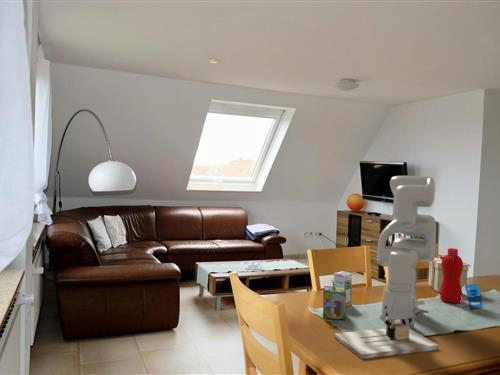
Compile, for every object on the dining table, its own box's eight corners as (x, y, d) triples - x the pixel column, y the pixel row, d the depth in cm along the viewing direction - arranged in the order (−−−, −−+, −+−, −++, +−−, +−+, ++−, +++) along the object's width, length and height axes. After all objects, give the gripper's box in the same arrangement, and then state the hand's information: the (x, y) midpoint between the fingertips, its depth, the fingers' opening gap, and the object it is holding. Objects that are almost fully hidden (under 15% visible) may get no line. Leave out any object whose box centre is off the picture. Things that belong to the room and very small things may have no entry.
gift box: (474, 294, 215) (476, 260, 214) (438, 293, 215) (439, 259, 214) (458, 285, 232) (460, 253, 231) (424, 284, 232) (425, 252, 231)
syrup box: (343, 307, 190) (344, 275, 189) (332, 304, 194) (333, 272, 194) (351, 304, 194) (352, 273, 193) (340, 301, 198) (341, 270, 198)
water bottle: (440, 303, 199) (442, 249, 198) (439, 297, 209) (441, 246, 208) (462, 306, 195) (465, 251, 194) (460, 299, 205) (462, 247, 204)
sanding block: (385, 334, 155) (386, 321, 155) (396, 333, 156) (396, 320, 156) (397, 342, 148) (398, 328, 148) (408, 340, 150) (409, 326, 149)
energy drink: (413, 325, 169) (414, 295, 169) (414, 330, 164) (415, 299, 164) (399, 323, 171) (400, 293, 171) (399, 328, 166) (400, 297, 165)
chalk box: (345, 320, 173) (346, 284, 172) (322, 318, 175) (323, 282, 174) (345, 313, 182) (346, 278, 181) (323, 311, 184) (324, 277, 183)
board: (404, 330, 164) (405, 326, 164) (438, 349, 147) (438, 345, 147) (334, 337, 155) (334, 333, 155) (361, 358, 138) (361, 354, 138)
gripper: (412, 282, 158) (410, 331, 158) (372, 285, 153) (370, 335, 153) (426, 287, 150) (424, 339, 151) (384, 291, 145) (383, 343, 146)
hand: (397, 336), depth 152 cm, fingers closed on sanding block, 4 cm apart
